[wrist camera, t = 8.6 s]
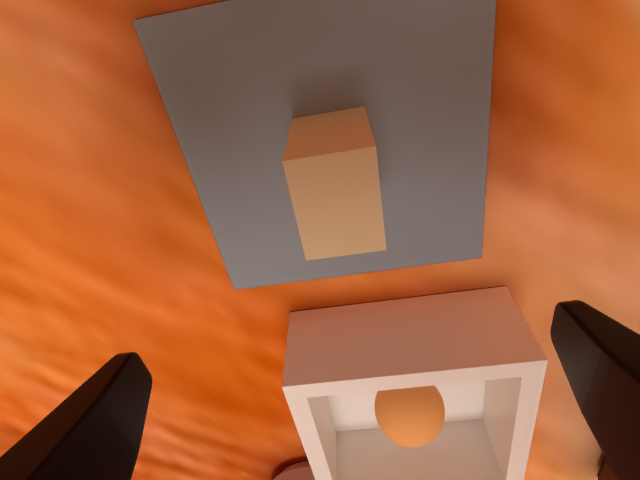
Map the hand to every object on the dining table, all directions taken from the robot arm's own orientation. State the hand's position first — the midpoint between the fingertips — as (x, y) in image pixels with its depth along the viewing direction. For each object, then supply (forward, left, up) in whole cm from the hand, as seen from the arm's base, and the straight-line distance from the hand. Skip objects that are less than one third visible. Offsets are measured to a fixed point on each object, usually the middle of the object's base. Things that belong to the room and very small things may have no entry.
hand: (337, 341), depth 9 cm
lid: (0, 0, -12) cm, 12 cm away
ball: (-2, +15, -8) cm, 17 cm away
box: (-2, +15, -11) cm, 19 cm away
